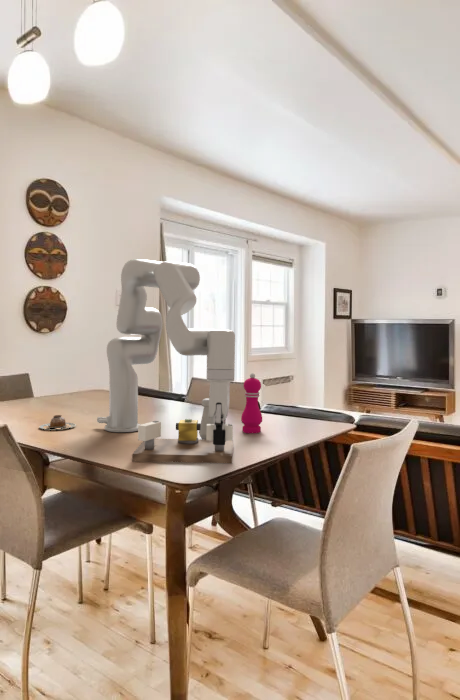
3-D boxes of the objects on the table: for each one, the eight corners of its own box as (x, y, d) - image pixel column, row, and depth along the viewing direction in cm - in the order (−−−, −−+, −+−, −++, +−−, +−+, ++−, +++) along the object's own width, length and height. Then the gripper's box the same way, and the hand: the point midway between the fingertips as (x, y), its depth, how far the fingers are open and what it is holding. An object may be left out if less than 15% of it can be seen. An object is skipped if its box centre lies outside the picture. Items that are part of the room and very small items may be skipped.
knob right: (206, 450, 135) (206, 424, 134) (206, 448, 137) (207, 423, 137) (232, 451, 134) (232, 425, 134) (232, 449, 137) (232, 423, 137)
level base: (132, 461, 131) (132, 428, 131) (145, 445, 150) (146, 416, 149) (231, 463, 130) (232, 430, 130) (233, 446, 149) (233, 418, 149)
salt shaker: (210, 442, 154) (210, 400, 153) (195, 440, 157) (195, 398, 156) (220, 439, 159) (221, 398, 158) (205, 437, 162) (206, 397, 161)
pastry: (80, 426, 179) (81, 413, 179) (67, 433, 167) (67, 419, 167) (48, 425, 180) (48, 412, 180) (32, 432, 168) (32, 418, 168)
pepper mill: (260, 434, 167) (261, 374, 167) (239, 433, 169) (240, 373, 168) (263, 430, 174) (264, 372, 174) (243, 429, 176) (243, 372, 175)
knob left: (145, 451, 132) (145, 425, 132) (137, 450, 134) (137, 424, 133) (160, 446, 139) (161, 421, 138) (153, 445, 140) (153, 420, 140)
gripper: (209, 372, 143) (208, 436, 144) (203, 378, 127) (202, 450, 128) (235, 373, 143) (234, 437, 144) (233, 378, 127) (232, 450, 127)
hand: (219, 442), depth 136 cm, fingers closed on knob right, 2 cm apart
